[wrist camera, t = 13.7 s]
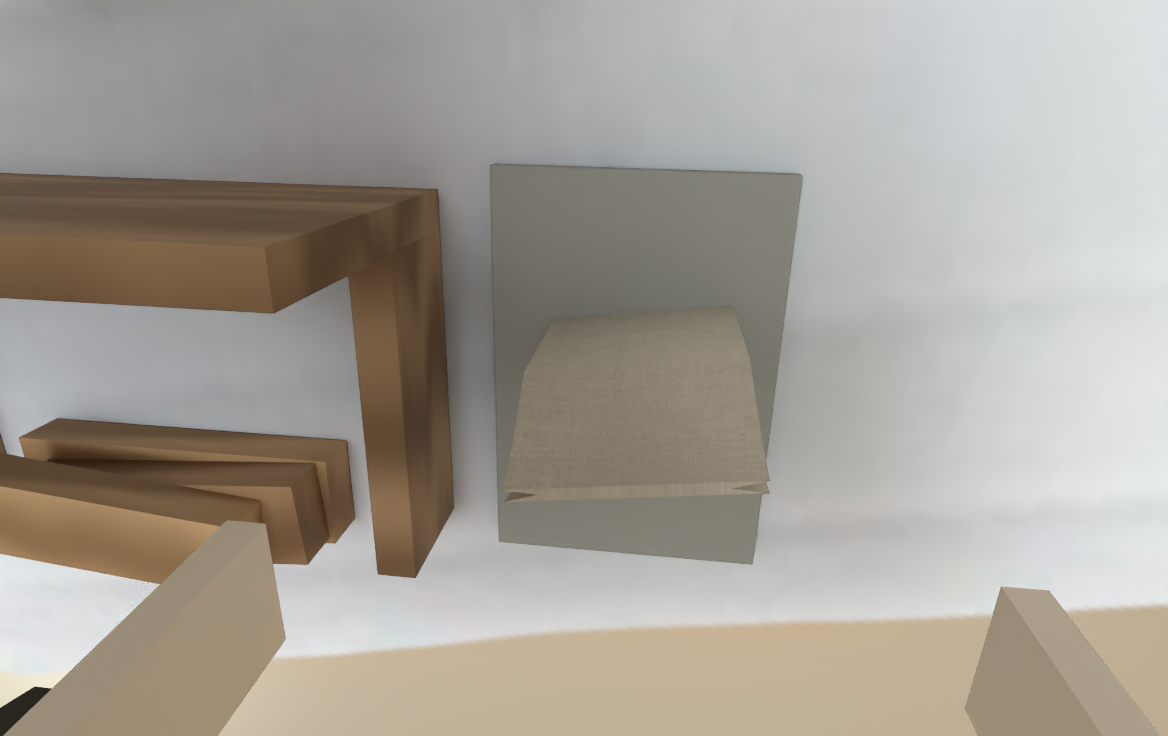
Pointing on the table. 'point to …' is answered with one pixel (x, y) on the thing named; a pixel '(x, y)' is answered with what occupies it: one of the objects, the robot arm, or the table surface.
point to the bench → (269, 296)
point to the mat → (628, 285)
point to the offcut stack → (166, 495)
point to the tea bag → (638, 410)
